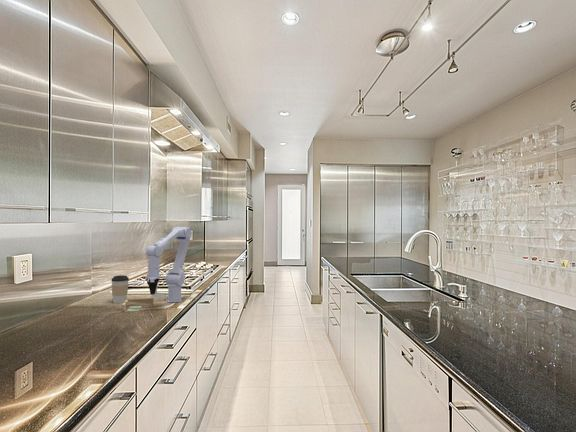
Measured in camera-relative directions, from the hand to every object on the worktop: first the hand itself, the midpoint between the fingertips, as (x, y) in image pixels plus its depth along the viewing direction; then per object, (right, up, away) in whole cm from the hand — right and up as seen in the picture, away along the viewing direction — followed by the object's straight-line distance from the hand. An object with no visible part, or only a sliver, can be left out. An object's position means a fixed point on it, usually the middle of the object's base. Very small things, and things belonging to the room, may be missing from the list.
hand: (153, 293), depth 175 cm
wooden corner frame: (-8, -8, 0) cm, 11 cm away
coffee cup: (-24, -8, +12) cm, 28 cm away
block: (+3, -2, +1) cm, 4 cm away
